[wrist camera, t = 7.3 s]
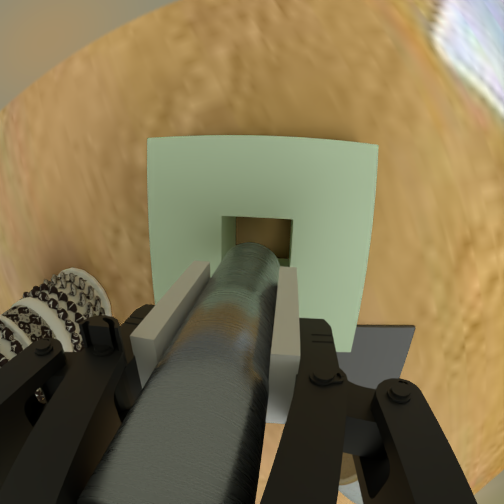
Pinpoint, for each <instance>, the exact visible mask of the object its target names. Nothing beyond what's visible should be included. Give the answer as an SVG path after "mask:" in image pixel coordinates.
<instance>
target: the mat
mask: <svg viewBox="0 0 504 504" xmlns="http://www.w3.org/2000/svg"><path fill="white" fill-rule="evenodd" d="M414 331H415V326H381V325H356V330H355V335H354V340H353V344H352V349H351V352H336V353H337V358H338V364H339V368H340V369H342V370H343V372H344V373H345V374H346V375H347V379H348V381H350V382H352V383H354V384H356V385H359V386H362V387H367V388H372V389H376V388H377V386H378V384H379V383H381V382H382V381H384V380H387V379H391V378H399V377H400V374H401V371H402V369H403V366H404V363H405V360H406V357H407V354H408V350H409V347H410V344H411V341H412V338H413V334H414Z"/></svg>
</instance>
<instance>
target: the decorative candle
mask: <svg viewBox="0 0 504 504" xmlns="http://www.w3.org/2000/svg"><path fill="white" fill-rule="evenodd" d="M51 281H52V282H51ZM51 281H48V280H47V279H45V280H44V284H41V285H40V287H38V286H34V287H33V290H31V291H30V293H29V292H24V294H23V298H21V299H20V300H19V301H18V302H16V303H15V304H13V305H12V307H11V308H10V309H9V310H7V311H6V312H4V313H3V314H2V315H0V368H1V367H2V366H3V365H4V364H6V363H7V362H8V361H9V360H11V359H12V358H13V357H15V356H16V355H17V354H18V353H20V352H21V351H22V350H24V349H25V348H26V347H28V346H29V345H30V344H32V343H33V342H35V341H37V340H40V339H42V338H54V339H57V340H59V341H60V342H61V344H62V346H63V350H64V352H82V350H83V349H84V343H83V340H82V336H81V332H80V328H79V323H80V322H82V321H83V320H85V319H87V318H89V317H93V316H97V315H107V316H111V317H112V314H111V304H110V301H109V299H108V297H107V294H106V292H105V290H104V289H103V287H102V286H101V285H100V283H99V282H98V281H97V280H96V278H95V277H93V276H92V275H90V274H89V273H87V272H86V271H85V270H82V269H78V268H73V267H71V268H68V269H65V270H62V271H61V272H60V273H59V275H58V276H56V275H55V274H54V275H53V276H52V278H51ZM35 395H36V397H37V399H38V401H42V398H45V397H44V395H43V393H42V391H41V389H40V388H39V389H38V390H37V391H36V392H35Z"/></svg>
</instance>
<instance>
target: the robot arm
mask: <svg viewBox="0 0 504 504" xmlns="http://www.w3.org/2000/svg"><path fill="white" fill-rule="evenodd" d="M209 280H210V262H207V261H193V262H192V264H191V265H190V266H189V267H188V268H187V269H186V270H185V272H184V273H183V274H182V275H181V276H180V277H179V278H178V280H177V281H176V282H175V283H174V284H173V285H172V287H171V288H170V289H169V290H168V291H167V292H166V293H165V295H164V296H163V297H162V298H161V299H160V300H159V302H158V303H157V304H156V305H148V304H146V305H144V306H142V307H140V308H138V309H136V310H135V311H134V312H133V313H132V314H131V315H130V318H128V319H127V320H126V321H125V323H123V324H122V325H121V326H120V325H119V322H118V320H117V319H115V318H114V317H111V316H107V315H97V316H93V317H89V318H87V319H85V320H83V321H82V322H80V323H79V328H80V332H81V336H82V340H83V343H84V349H83V350H82V352H64V350H63V346H62V344H61V342H60V341H59V340H57V339H54V338H42V339H40V340H37V341H35V342H33V343H32V344H30V345H29V346H28V347H26V348H25V349H24V350H22V351H21V352H20V353H18V354H17V355H16V356H15V357H13V358H12V359H11V360H9V361H8V362H7V363H6V364H4V365H3V366H2V367H1V368H0V504H77V500H78V498H79V497H80V495H81V493H82V491H83V489H84V488H85V486H86V484H87V482H88V481H89V479H90V477H91V475H92V474H93V472H94V470H95V468H96V467H97V465H98V463H99V461H100V460H101V458H102V456H103V454H104V453H105V451H106V449H107V448H108V446H109V444H110V442H111V441H112V439H113V437H114V436H115V434H116V432H117V430H118V429H119V427H120V425H121V424H122V422H123V420H124V419H125V417H126V415H127V414H128V412H129V410H130V408H131V407H132V405H133V403H134V402H135V400H136V398H137V397H138V395H139V393H140V392H141V390H142V388H143V387H144V385H145V383H146V382H147V380H148V378H149V377H150V375H151V374H152V372H153V370H154V369H155V367H156V365H157V364H158V362H159V360H160V359H161V357H162V355H163V354H164V352H165V351H166V349H167V347H168V346H169V344H170V342H171V341H172V339H173V338H174V336H175V334H176V333H177V331H178V329H179V328H180V326H181V325H182V323H183V321H184V320H185V318H186V317H187V315H188V313H189V312H190V310H191V308H192V307H193V305H194V304H195V302H196V300H197V299H198V297H199V296H200V294H201V293H202V291H203V289H204V288H205V286H206V285H207V283H208V281H209ZM39 388H40V389H41V391H42V393H43V395H44V397H45V398H44V399H43V400H42V401H38V399H37V397H36V395H35V392H36V391H37V390H38V389H39ZM266 423H279V424H285V427H284V430H283V433H282V437H281V440H280V444H279V447H278V450H277V453H276V457H275V460H274V463H273V466H272V469H271V472H270V475H269V478H268V481H267V484H266V487H265V490H264V493H263V496H262V499H261V502H260V504H336V503H337V496H338V489H339V482H340V474H341V465H342V456H343V452H344V453H348V454H352V456H353V461H354V465H355V469H356V473H357V478H358V482H359V487H360V491H361V496H362V500H363V504H477V502H476V499H475V498H474V495H473V493H472V490H471V488H470V486H469V484H468V482H467V479H466V477H465V475H464V473H463V471H462V469H461V467H460V465H459V463H458V461H457V458H456V456H455V454H454V452H453V450H452V448H451V446H450V444H449V442H448V440H447V438H446V437H445V435H444V433H443V431H442V429H441V427H440V425H439V423H438V421H437V419H436V418H435V416H434V414H433V412H432V410H431V408H430V406H429V405H428V403H427V401H426V399H425V397H424V396H423V394H422V392H421V390H420V389H419V388H418V387H417V386H416V385H415V384H413V383H412V382H410V381H407V380H404V379H401V378H391V379H387V380H384V381H382V382H381V383H379V384H378V386H377V388H376V389H372V388H367V387H362V386H359V385H356V384H354V383H352V382H350V381H348V379H347V375H346V374H345V373H344V372H343V370H342V369H340V368H339V364H338V358H337V353H336V348H335V343H334V338H333V333H332V329H331V326H330V325H329V324H328V323H327V322H326V321H325V320H324V319H315V318H299V302H298V281H297V267H283V266H280V269H279V279H278V289H277V299H276V309H275V319H274V328H273V338H272V347H271V356H270V369H269V397H268V406H267V415H266Z"/></svg>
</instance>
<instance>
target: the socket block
mask: <svg viewBox="0 0 504 504" xmlns="http://www.w3.org/2000/svg"><path fill="white" fill-rule="evenodd" d="M377 165H378V145H375V144H367V143H359V142H350V141H340V140H329V139H317V138H303V137H285V136H258V135H202V136H174V137H157V138H147V188H148V219H149V238H150V254H151V267H152V279H153V289H154V299H155V305H156V304H157V303H158V302H159V300H160V299H161V298H162V297H163V296H164V295H165V293H166V292H167V291H168V290H169V289H170V288H171V287H172V285H173V284H174V283H175V282H176V281H177V280H178V278H179V277H180V276H181V275H182V274H183V273H184V272H185V270H186V269H187V268H188V267H189V266H190V265H191V264H192V262H193V261H207V262H210V278H211V277H212V275H213V274H214V272H215V270H216V269H217V267H218V266H219V264H220V262H221V261H222V259H223V258H224V256H225V255H226V253H227V252H228V251H229V250H230V249H231V248H233V247H234V246H236V216H237V217H258V218H277V219H291V232H290V248H289V259H283V258H277V259H278V261H279V264H280V266H283V267H297V281H298V302H299V318H315V319H324V320H325V321H326V322H327V323H328V324H329V325H330V326H331V329H332V333H333V338H334V343H335V348H336V352H351V349H352V344H353V340H354V335H355V330H356V325H357V320H358V315H359V310H360V305H361V299H362V294H363V288H364V282H365V276H366V269H367V262H368V255H369V248H370V240H371V232H372V224H373V214H374V204H375V193H376V180H377Z"/></svg>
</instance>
